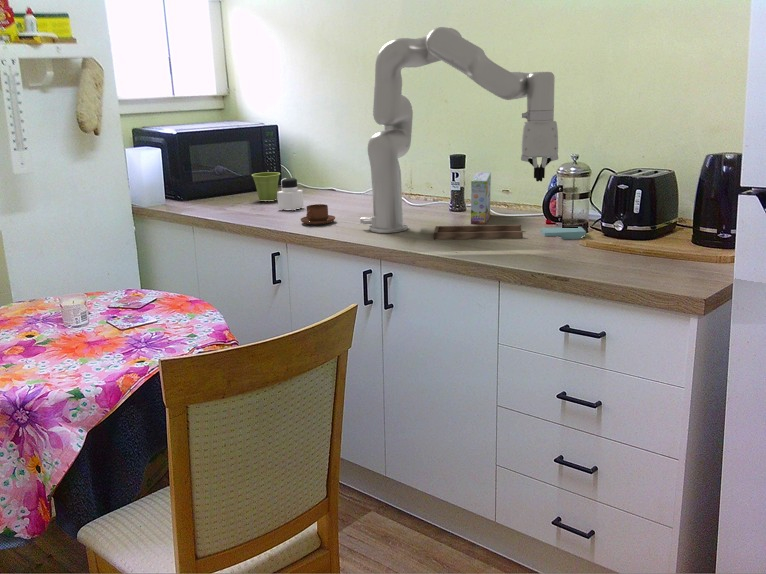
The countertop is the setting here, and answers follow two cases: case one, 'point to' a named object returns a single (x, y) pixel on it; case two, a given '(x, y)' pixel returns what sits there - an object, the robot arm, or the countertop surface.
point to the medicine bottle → (290, 195)
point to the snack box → (480, 198)
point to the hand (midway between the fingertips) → (539, 180)
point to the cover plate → (564, 232)
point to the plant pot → (266, 185)
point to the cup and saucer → (317, 215)
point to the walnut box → (478, 232)
